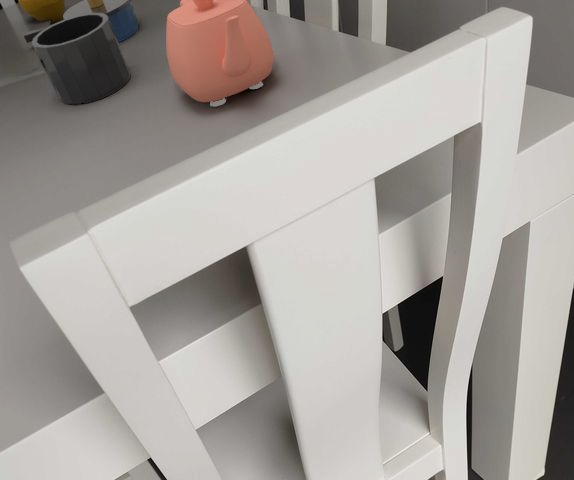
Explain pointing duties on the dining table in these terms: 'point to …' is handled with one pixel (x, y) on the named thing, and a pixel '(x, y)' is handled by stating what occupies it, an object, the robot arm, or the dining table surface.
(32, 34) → the pan handle
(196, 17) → the teapot
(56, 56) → the pot
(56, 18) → the apple
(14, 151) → the dining table surface
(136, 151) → the dining table surface
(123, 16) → the pan
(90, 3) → the lid
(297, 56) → the dining table surface
